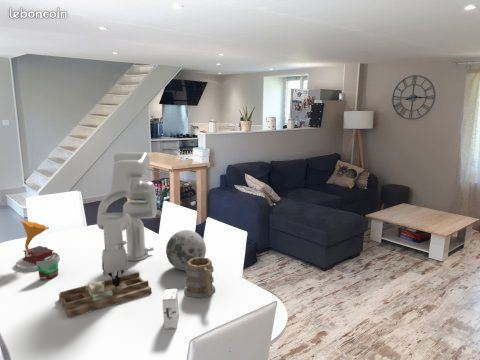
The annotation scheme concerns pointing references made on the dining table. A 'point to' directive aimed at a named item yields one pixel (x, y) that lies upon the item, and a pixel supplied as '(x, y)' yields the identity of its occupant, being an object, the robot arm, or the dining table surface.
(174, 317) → the ink box
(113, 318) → the dining table surface
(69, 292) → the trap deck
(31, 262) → the gramophone
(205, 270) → the tankard
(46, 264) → the food container
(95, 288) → the block
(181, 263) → the moon model
